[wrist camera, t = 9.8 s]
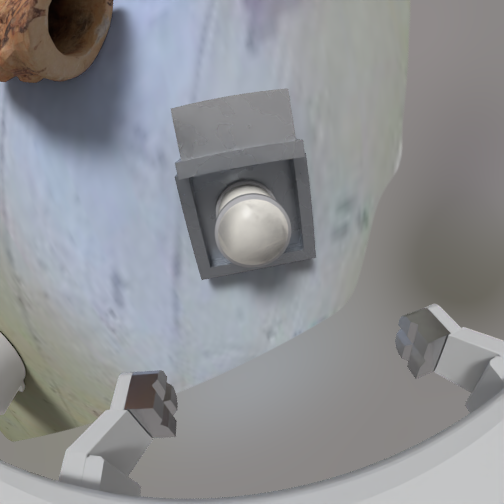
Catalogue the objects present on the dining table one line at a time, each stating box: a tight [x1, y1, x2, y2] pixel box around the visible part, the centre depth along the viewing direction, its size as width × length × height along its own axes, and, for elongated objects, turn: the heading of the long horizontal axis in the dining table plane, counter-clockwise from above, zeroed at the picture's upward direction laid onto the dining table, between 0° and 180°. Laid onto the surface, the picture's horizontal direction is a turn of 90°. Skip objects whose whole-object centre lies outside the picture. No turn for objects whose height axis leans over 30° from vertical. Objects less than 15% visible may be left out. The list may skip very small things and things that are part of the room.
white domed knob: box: [215, 180, 291, 268], centre depth 21 cm, size 5×5×6 cm
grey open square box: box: [171, 89, 316, 280], centre depth 21 cm, size 10×14×4 cm
